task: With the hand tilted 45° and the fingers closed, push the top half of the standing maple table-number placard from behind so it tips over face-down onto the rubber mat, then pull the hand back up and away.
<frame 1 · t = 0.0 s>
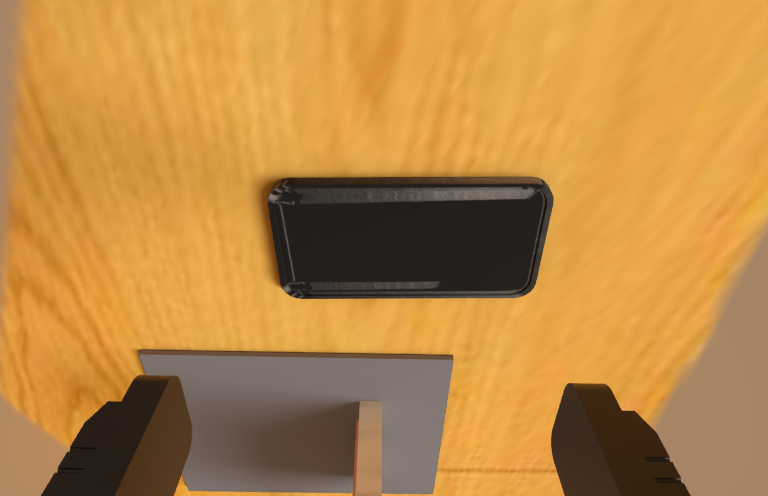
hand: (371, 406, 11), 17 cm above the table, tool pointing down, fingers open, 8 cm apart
mat: (305, 428, 40), on the table
placard: (370, 442, 40), resting on mat
phone: (408, 233, 30), on the table
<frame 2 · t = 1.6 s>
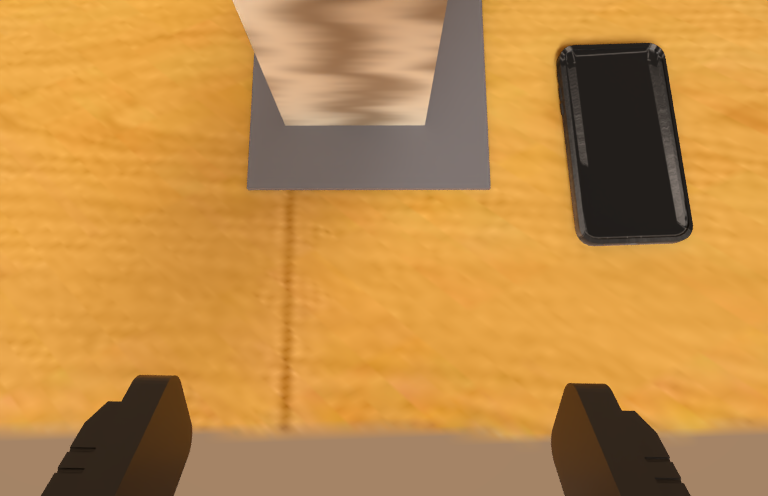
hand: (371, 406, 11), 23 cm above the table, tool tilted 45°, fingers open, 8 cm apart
mat: (369, 55, 39), on the table
placard: (355, 115, 37), resting on mat
phone: (615, 146, 38), on the table
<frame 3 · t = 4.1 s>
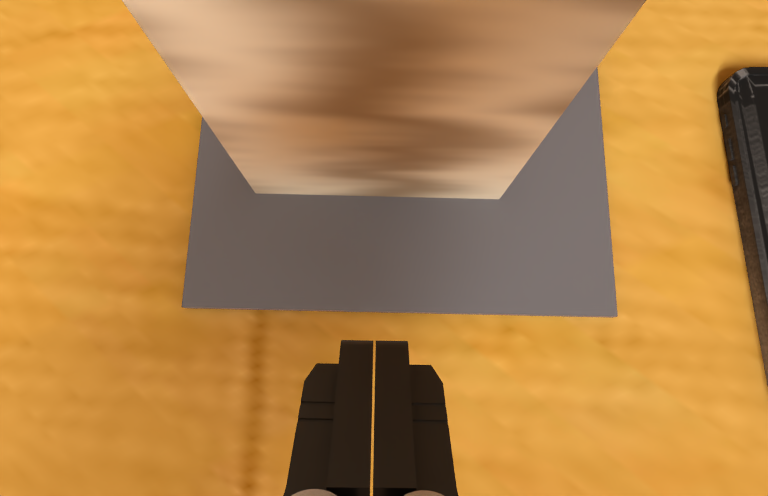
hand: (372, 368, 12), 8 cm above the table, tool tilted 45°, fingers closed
mat: (403, 75, 23), on the table
placard: (378, 177, 21), resting on mat
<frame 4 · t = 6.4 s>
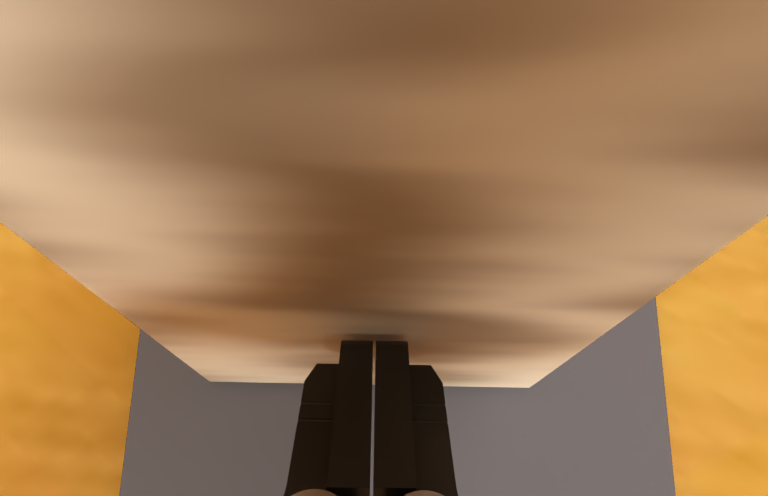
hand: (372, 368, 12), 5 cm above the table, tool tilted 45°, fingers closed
mat: (402, 215, 18), on the table
placard: (370, 359, 16), point 1 cm above the table, tilted 13°, touching mat
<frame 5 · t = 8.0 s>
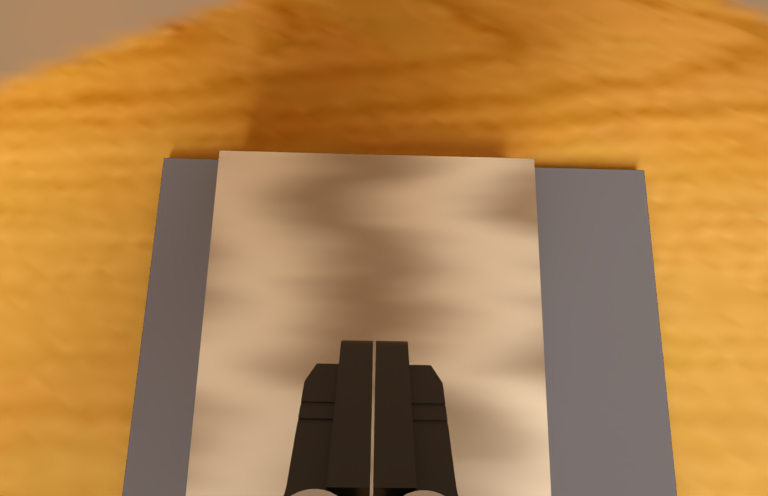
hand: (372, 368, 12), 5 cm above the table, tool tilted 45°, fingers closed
mat: (401, 481, 16), on the table
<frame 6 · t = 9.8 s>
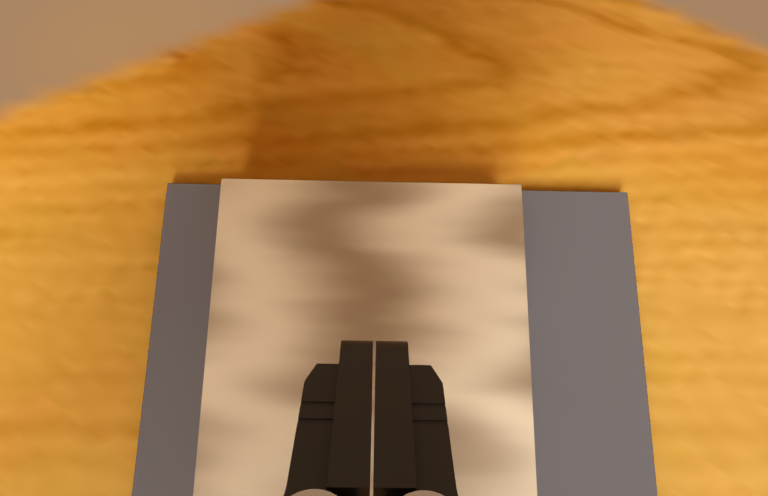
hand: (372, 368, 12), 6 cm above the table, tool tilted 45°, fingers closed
mat: (397, 492, 17), on the table
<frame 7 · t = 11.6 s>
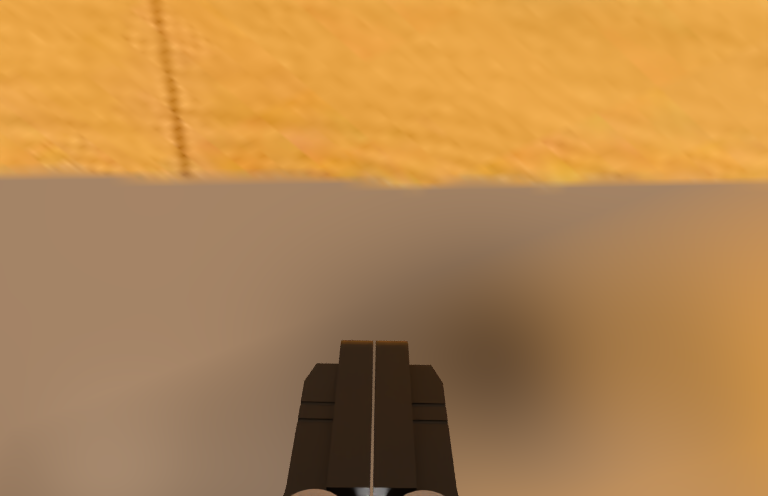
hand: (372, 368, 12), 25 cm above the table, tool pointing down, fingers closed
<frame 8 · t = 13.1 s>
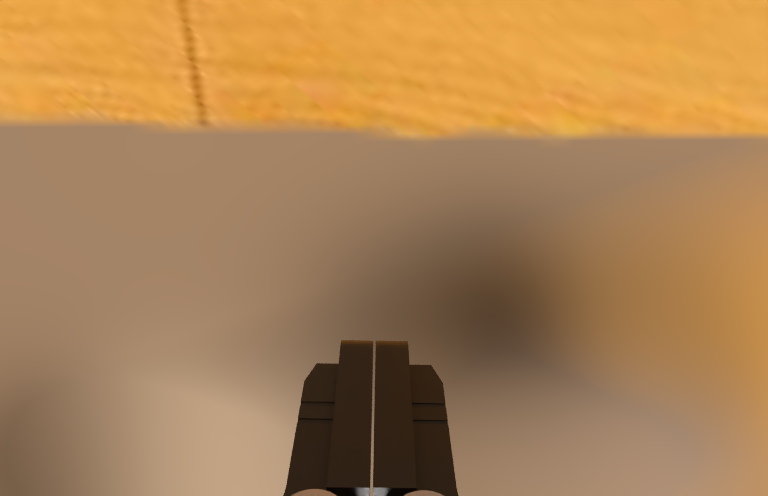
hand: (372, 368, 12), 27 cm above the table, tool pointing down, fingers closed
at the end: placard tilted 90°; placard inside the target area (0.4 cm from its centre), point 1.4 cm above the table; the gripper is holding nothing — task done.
